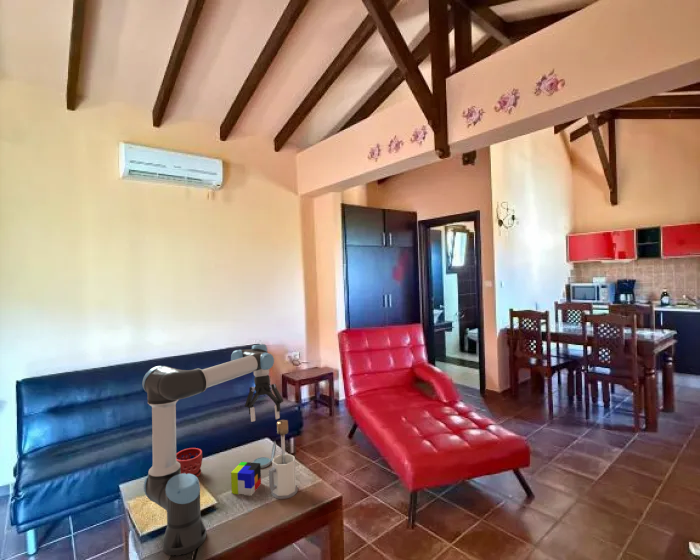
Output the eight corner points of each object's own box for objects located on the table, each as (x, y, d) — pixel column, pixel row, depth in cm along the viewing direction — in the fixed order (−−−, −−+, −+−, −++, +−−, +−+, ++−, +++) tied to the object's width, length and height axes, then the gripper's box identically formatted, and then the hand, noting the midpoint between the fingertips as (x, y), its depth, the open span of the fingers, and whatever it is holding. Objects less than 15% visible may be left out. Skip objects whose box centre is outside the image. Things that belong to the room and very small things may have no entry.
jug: (279, 504, 165) (278, 470, 165) (263, 493, 173) (262, 461, 173) (303, 490, 175) (301, 458, 175) (286, 481, 183) (285, 450, 183)
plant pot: (169, 478, 189) (168, 455, 188) (194, 467, 199) (193, 445, 199) (183, 487, 181) (182, 462, 180) (208, 475, 191) (207, 451, 191)
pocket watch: (276, 446, 197) (246, 450, 194) (276, 466, 198) (247, 471, 194) (275, 438, 207) (247, 441, 204) (275, 457, 207) (247, 461, 204)
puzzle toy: (251, 495, 172) (250, 474, 172) (231, 493, 174) (230, 472, 174) (261, 483, 182) (260, 463, 182) (242, 482, 184) (241, 461, 184)
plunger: (282, 475, 169) (280, 426, 168) (271, 469, 174) (270, 422, 174) (296, 468, 175) (294, 421, 174) (285, 462, 180) (283, 417, 180)
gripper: (287, 372, 189) (291, 416, 184) (244, 378, 195) (247, 420, 191) (280, 373, 182) (284, 419, 177) (235, 379, 188) (238, 423, 184)
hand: (265, 420), depth 184 cm, fingers open, 13 cm apart
